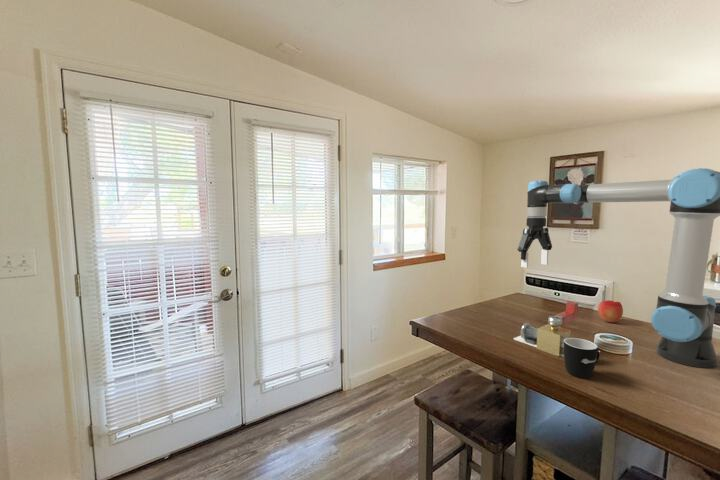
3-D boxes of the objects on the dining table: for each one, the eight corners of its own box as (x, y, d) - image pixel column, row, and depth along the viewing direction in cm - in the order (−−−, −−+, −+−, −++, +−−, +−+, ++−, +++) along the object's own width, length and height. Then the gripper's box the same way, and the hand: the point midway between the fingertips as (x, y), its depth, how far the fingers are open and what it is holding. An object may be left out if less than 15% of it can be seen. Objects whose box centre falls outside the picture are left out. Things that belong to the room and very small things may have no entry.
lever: (557, 327, 120) (558, 311, 120) (546, 324, 124) (546, 308, 123) (578, 318, 130) (579, 303, 129) (567, 315, 133) (568, 300, 133)
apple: (625, 322, 152) (627, 301, 151) (617, 326, 147) (619, 304, 146) (601, 316, 160) (602, 296, 159) (592, 320, 155) (594, 299, 153)
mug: (579, 382, 101) (581, 350, 100) (555, 368, 110) (557, 339, 109) (610, 377, 104) (612, 346, 103) (585, 364, 113) (587, 335, 112)
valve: (590, 357, 117) (592, 332, 116) (580, 364, 113) (582, 337, 112) (529, 337, 136) (530, 315, 135) (518, 342, 131) (519, 319, 130)
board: (600, 352, 122) (600, 351, 122) (581, 363, 114) (582, 362, 113) (533, 331, 142) (533, 330, 142) (513, 339, 134) (513, 338, 134)
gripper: (546, 216, 152) (544, 262, 154) (509, 217, 141) (507, 267, 143) (562, 216, 145) (560, 264, 148) (525, 218, 134) (523, 269, 136)
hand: (534, 265), depth 145 cm, fingers open, 13 cm apart
